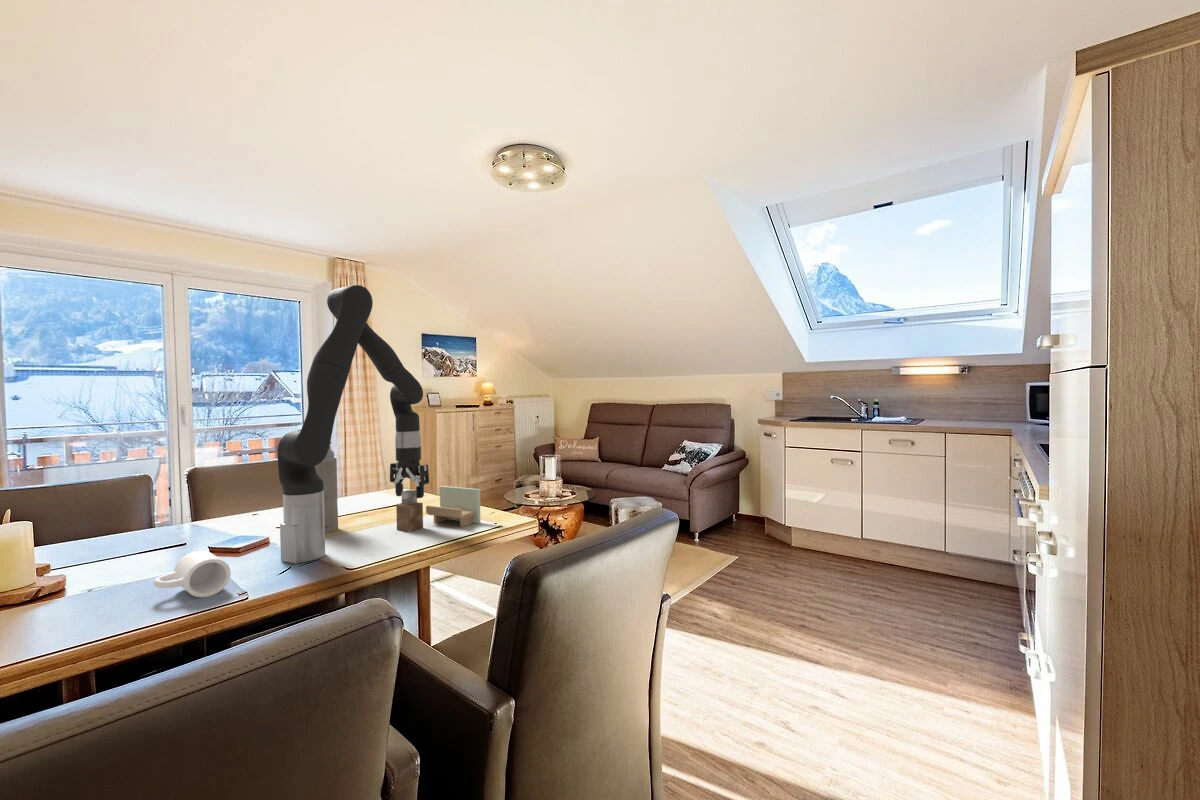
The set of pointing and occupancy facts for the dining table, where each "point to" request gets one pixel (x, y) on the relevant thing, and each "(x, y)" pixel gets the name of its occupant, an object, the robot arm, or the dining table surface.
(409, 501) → the brown box
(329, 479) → the thermos bottle
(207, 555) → the mug
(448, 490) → the small display stand
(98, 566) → the dining table surface
